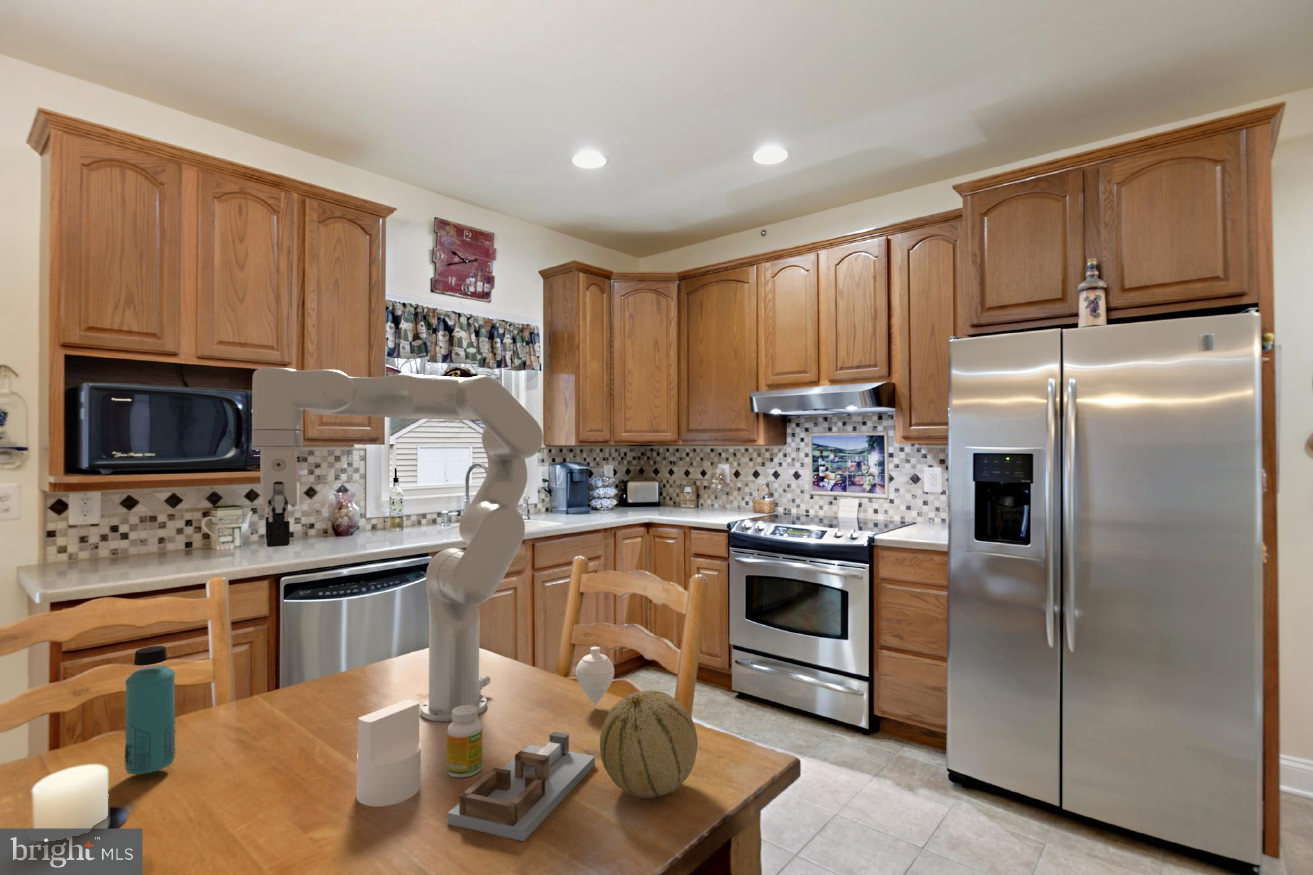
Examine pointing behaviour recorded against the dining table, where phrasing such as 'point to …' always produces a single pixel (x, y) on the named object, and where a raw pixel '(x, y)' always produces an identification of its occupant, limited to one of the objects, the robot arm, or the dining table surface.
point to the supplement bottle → (464, 742)
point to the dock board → (557, 787)
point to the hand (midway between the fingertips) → (277, 542)
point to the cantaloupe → (648, 744)
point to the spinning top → (595, 674)
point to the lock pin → (550, 752)
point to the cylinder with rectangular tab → (389, 755)
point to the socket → (497, 810)
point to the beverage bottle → (150, 713)
